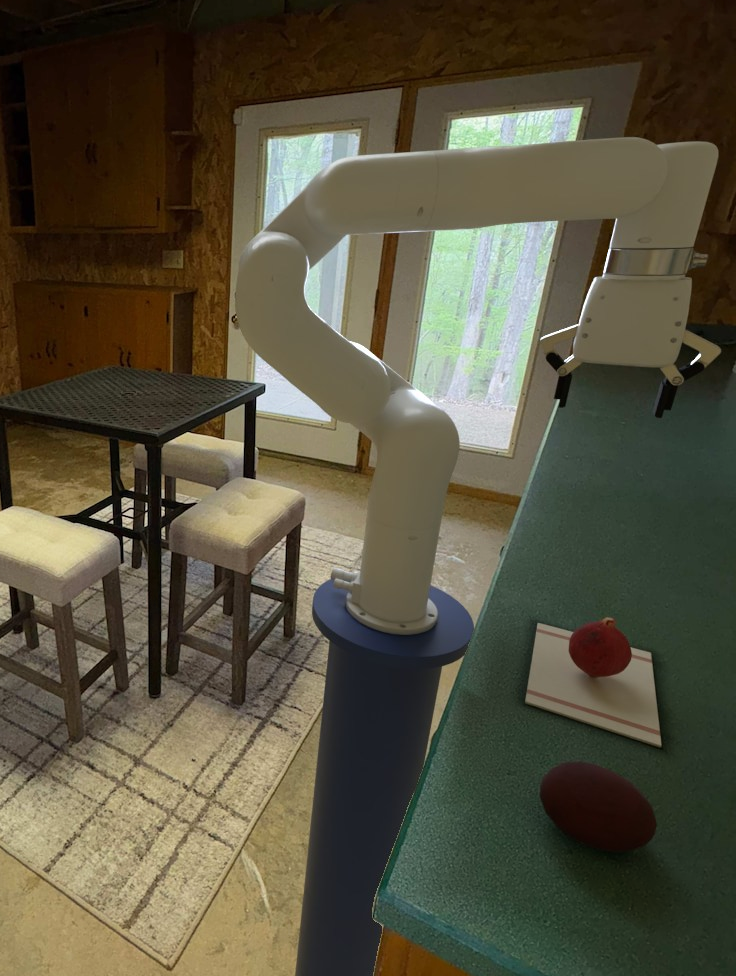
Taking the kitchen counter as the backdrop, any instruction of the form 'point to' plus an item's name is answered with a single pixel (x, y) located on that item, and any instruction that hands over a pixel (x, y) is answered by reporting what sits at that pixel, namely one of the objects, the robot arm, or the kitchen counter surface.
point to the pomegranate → (600, 649)
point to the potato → (597, 807)
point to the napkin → (593, 689)
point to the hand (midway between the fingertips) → (607, 410)
